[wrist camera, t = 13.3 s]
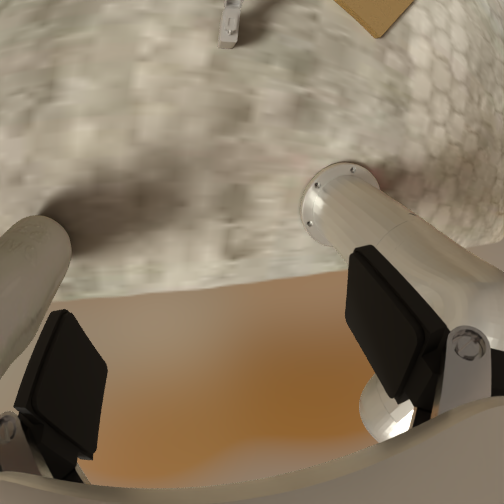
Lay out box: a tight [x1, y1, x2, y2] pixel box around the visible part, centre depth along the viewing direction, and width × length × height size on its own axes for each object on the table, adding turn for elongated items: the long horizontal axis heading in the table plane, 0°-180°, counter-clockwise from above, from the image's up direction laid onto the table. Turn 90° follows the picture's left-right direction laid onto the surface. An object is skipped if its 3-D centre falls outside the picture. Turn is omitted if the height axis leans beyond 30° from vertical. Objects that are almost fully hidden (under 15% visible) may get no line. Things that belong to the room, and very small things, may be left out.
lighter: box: [218, 0, 243, 49], centre depth 22 cm, size 7×2×8 cm, turn 175°
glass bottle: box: [0, 215, 72, 379], centre depth 22 cm, size 10×10×28 cm
